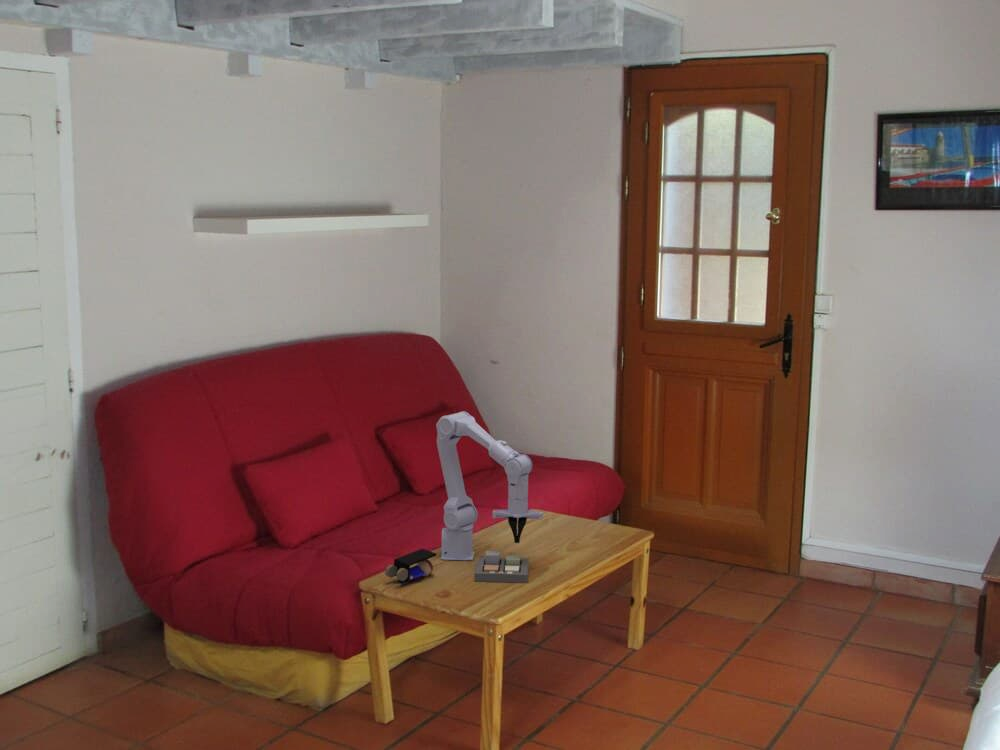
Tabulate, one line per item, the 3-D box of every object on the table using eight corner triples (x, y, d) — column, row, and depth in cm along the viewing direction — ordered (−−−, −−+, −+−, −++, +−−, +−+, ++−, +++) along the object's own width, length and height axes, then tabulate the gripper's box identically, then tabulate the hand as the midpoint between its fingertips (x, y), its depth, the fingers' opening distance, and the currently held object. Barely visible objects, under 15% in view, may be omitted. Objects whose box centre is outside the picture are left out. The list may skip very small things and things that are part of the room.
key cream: (504, 576, 329) (504, 570, 329) (505, 572, 333) (505, 565, 332) (518, 577, 329) (518, 570, 328) (519, 572, 333) (519, 566, 332)
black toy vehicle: (402, 593, 321) (439, 575, 332) (399, 568, 319) (437, 550, 330) (385, 588, 325) (422, 569, 336) (383, 563, 323) (420, 545, 334)
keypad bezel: (474, 581, 327) (474, 572, 327) (478, 564, 342) (478, 556, 341) (527, 583, 326) (527, 574, 326) (528, 565, 341) (528, 557, 340)
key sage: (505, 569, 335) (505, 559, 334) (506, 565, 339) (506, 555, 338) (519, 570, 335) (519, 559, 334) (520, 565, 338) (520, 555, 338)
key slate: (485, 565, 335) (485, 555, 334) (486, 561, 339) (486, 550, 338) (499, 566, 335) (499, 555, 334) (499, 561, 339) (499, 551, 338)
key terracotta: (483, 576, 329) (483, 569, 329) (484, 571, 333) (484, 565, 333) (497, 576, 329) (497, 569, 329) (498, 572, 333) (498, 565, 333)
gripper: (492, 499, 330) (491, 545, 332) (542, 501, 329) (541, 547, 331) (493, 493, 337) (493, 537, 339) (543, 495, 336) (542, 539, 338)
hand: (517, 542), depth 335 cm, fingers closed
